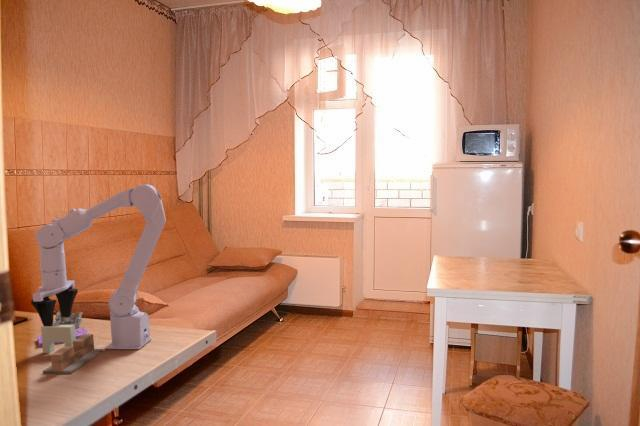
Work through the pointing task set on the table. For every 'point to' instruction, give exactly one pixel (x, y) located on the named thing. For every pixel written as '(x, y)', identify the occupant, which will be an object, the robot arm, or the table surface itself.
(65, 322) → the egg carton
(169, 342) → the table surface
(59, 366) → the slotted base
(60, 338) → the cream h-shaped block
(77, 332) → the sponges
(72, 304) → the robot arm
